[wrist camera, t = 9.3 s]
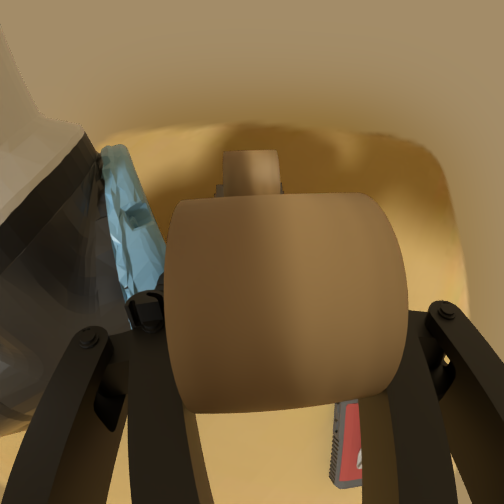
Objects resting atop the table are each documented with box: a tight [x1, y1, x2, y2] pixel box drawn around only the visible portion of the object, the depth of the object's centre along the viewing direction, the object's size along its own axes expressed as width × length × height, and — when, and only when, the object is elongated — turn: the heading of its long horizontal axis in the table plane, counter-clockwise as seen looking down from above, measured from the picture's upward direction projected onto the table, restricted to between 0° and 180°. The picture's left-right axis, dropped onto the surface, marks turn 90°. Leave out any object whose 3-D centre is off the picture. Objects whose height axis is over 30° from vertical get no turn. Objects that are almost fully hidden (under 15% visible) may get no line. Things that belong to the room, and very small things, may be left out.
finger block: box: [164, 193, 408, 414], centre depth 11 cm, size 4×6×12 cm
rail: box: [214, 150, 284, 198], centre depth 26 cm, size 8×20×14 cm, turn 2°
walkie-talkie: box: [329, 399, 362, 489], centre depth 26 cm, size 9×4×20 cm
